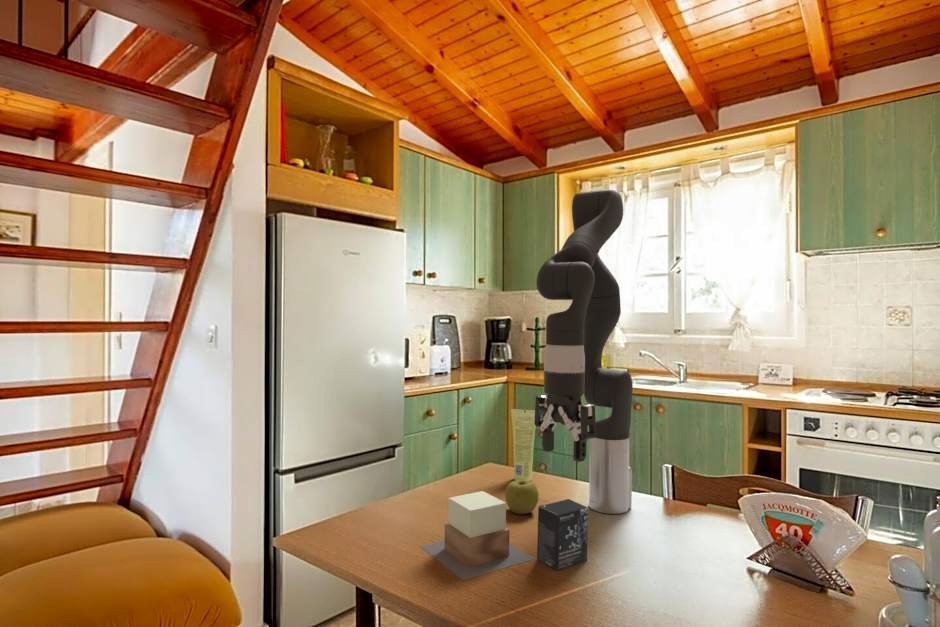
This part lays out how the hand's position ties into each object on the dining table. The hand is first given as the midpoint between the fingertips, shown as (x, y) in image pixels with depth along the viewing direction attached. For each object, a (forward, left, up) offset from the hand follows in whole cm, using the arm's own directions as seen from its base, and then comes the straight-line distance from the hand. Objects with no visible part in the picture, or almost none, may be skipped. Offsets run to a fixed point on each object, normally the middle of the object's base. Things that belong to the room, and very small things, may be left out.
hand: (563, 455), depth 103 cm
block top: (+12, -11, -15) cm, 22 cm away
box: (0, 0, -20) cm, 20 cm away
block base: (+12, -11, -20) cm, 25 cm away
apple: (-9, -24, -20) cm, 33 cm away
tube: (-25, -44, -20) cm, 54 cm away
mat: (+12, -11, -20) cm, 26 cm away
